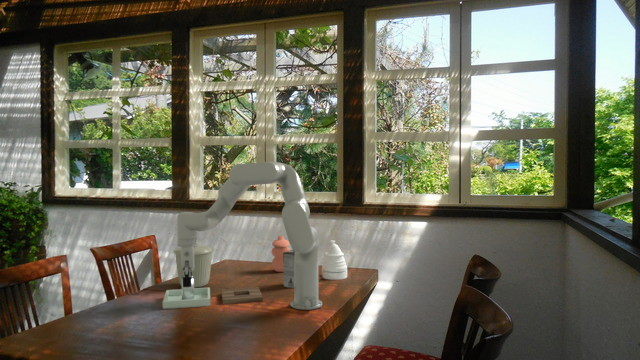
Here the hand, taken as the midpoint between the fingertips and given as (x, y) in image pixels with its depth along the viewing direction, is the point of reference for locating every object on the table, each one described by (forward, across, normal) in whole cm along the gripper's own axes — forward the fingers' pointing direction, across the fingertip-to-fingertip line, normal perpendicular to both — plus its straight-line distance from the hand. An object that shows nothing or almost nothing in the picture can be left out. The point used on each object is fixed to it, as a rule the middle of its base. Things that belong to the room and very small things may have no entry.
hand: (187, 283), depth 188 cm
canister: (+7, +27, -2) cm, 28 cm away
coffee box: (+7, +15, -48) cm, 50 cm away
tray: (+7, 0, 0) cm, 7 cm away
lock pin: (+7, 0, 0) cm, 7 cm away
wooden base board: (+7, 0, -22) cm, 23 cm away
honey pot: (+8, +28, -71) cm, 76 cm away
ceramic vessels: (+8, +36, -51) cm, 63 cm away
